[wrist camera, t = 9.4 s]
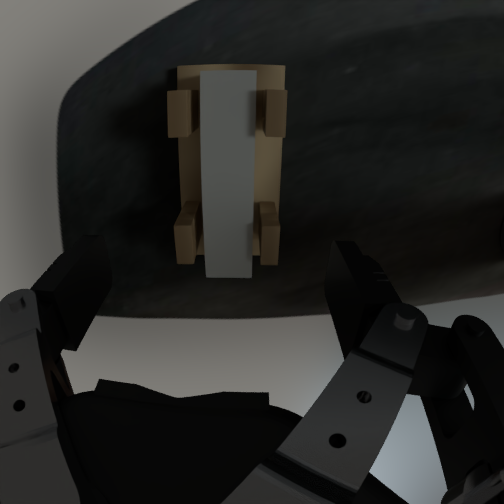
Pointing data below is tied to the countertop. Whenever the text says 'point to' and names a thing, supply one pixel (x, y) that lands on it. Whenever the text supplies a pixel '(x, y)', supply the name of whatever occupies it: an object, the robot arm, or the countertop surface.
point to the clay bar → (228, 170)
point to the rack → (265, 167)
